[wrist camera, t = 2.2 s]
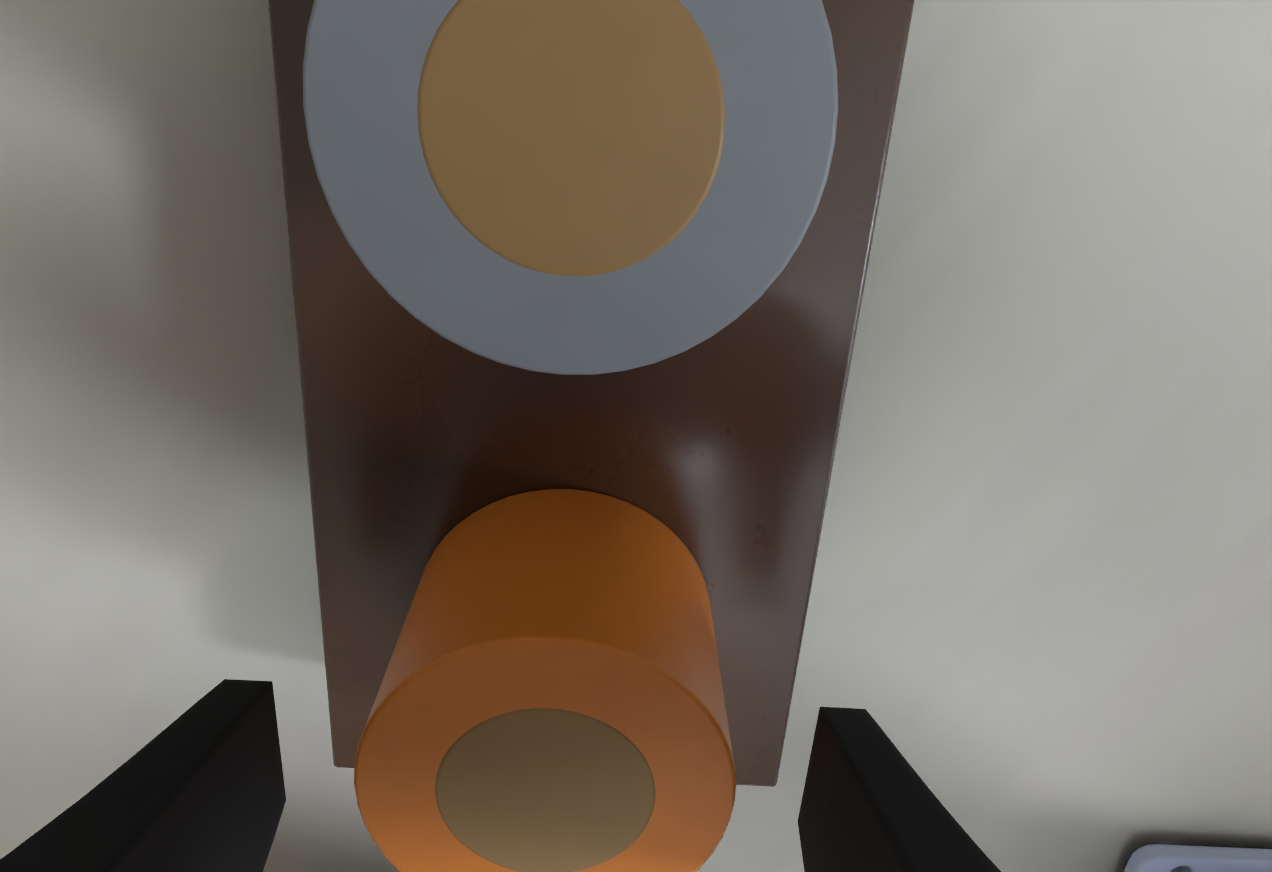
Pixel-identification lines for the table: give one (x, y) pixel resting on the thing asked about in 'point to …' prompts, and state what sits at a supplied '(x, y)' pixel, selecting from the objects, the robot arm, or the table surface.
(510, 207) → the grey tape
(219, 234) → the table surface
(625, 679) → the orange tape
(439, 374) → the brown rectangular block
